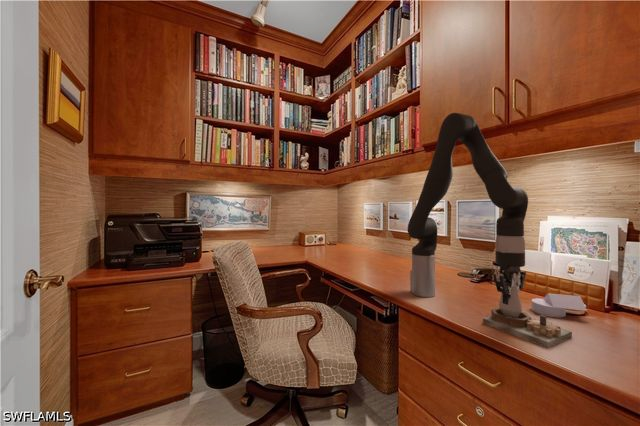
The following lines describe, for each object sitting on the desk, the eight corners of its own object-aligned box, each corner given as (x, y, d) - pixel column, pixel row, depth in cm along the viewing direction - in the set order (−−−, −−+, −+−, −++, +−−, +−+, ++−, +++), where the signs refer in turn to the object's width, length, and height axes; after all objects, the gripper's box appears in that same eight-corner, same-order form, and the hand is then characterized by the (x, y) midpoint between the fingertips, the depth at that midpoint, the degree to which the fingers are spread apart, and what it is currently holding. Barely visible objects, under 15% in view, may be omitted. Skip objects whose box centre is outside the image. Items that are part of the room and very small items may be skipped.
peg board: (482, 323, 82) (482, 305, 82) (506, 315, 88) (506, 298, 88) (548, 347, 67) (548, 326, 67) (571, 336, 73) (571, 316, 73)
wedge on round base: (573, 311, 91) (528, 306, 97) (573, 292, 91) (528, 288, 97) (587, 321, 83) (536, 314, 88) (587, 300, 83) (536, 295, 88)
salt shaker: (519, 320, 77) (519, 276, 77) (496, 314, 81) (496, 273, 81) (524, 314, 81) (523, 273, 81) (502, 309, 85) (502, 270, 85)
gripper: (509, 247, 87) (509, 297, 87) (484, 250, 81) (484, 304, 81) (535, 249, 81) (536, 304, 81) (510, 253, 74) (510, 313, 74)
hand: (510, 304), depth 81 cm, fingers closed on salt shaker, 3 cm apart
